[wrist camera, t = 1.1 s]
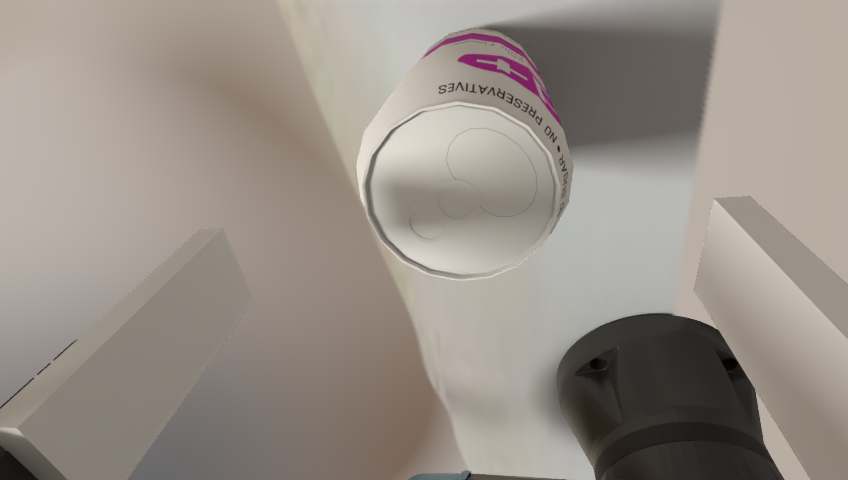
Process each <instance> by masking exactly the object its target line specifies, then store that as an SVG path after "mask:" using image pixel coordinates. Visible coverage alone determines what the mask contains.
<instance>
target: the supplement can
mask: <svg viewBox="0 0 848 480" xmlns="http://www.w3.org/2000/svg"><path fill="white" fill-rule="evenodd" d="M356 169H357V176H358V182H359V189H360V196H361V201H362V202H363V204H364V206H365V211H366V216H367V218H368V220H369V222H370V224H371V225H372V227H373V229H374V231H375V233H376V235H377V237H378V239H379V240H380V242H381V243H382V244H383V245H384V246H385V247H386V248H387V249H389V250H390V251H391V252H392V253H393V254H394V255H395V256H396V257H397V258H398V259H399V260H400V261H401V262H403V263H405V264H407V265H409V266H411V267H413V268H415V269H417V270H419V271H421V272H423V273H425V274H427V275H429V276H434V277H439V278H445V279H450V280H456V281H466V280H476V279H485V278H491V277H494V276H496V275H499V274H501V273H503V272H506V271H508V270H511V269H513V268H515V267H518V266H519V265H520V264H522V263H523V262H524V261H525V260H526V259H527V258H529V257H530V256H531V255H532V254H533V253H534V252H536V251H537V250H538V249H539V248H540V247H541V246H542V245H543V243H544V241H545V240H546V238H547V236H548V235H549V234H551V233H552V231H553V229H554V228H555V226H556V224H557V222H558V220H559V219H560V217H561V215H562V213H563V211H564V210H565V208H566V206H567V204H568V202H569V196H570V188H571V181H572V173H573V163H572V160H571V156H570V152H569V149H568V145H567V141H566V137H565V134H564V130H563V128H562V125H561V123H560V121H559V118H558V116H557V114H556V112H555V109H554V107H553V105H552V102H551V100H550V98H549V95H548V93H547V91H546V88H545V86H544V84H543V82H542V79H541V77H540V75H539V72H538V70H537V68H536V65H535V63H534V62H533V61H532V59H531V58H530V57H529V55H528V54H527V53H526V51H525V50H524V49H523V47H522V46H521V45H520V44H519V43H517V42H516V41H514V40H512V39H511V38H509V37H507V36H506V35H504V34H502V33H501V32H499V31H493V30H486V29H479V28H471V29H467V30H463V31H459V32H454V33H450V34H449V35H447V36H446V37H444V38H443V39H442V40H440V41H439V42H437V43H436V44H434V45H433V46H431V47H430V48H429V49H428V50H427V52H426V53H425V54H424V55H423V57H422V58H421V59H420V60H419V61H418V63H417V64H416V65H415V66H414V67H413V69H412V70H411V71H410V72H409V74H408V75H407V76H406V77H405V78H404V80H403V81H402V82H401V83H400V84H399V86H398V87H397V88H396V89H395V91H394V92H393V93H392V94H391V95H390V97H389V98H388V99H387V100H386V101H385V103H384V104H383V106H382V107H381V109H380V110H379V112H378V113H377V114H376V116H375V117H374V119H373V120H372V122H371V123H370V124H369V126H368V127H367V129H366V130H365V132H364V135H363V139H362V143H361V148H360V152H359V156H358V161H357V165H356Z"/></svg>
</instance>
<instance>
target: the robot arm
mask: <svg viewBox="0 0 848 480" xmlns="http://www.w3.org/2000/svg"><path fill="white" fill-rule="evenodd" d="M694 291H695V292H696V294H697V295H698V297H699V299H700V300H701V302H702V304H703V305H704V307H705V309H706V310H707V312H708V314H709V315H710V317H711V318H712V320H713V321H714V323H715V325H716V326H717V328H718V330H717V329H715V328H713V327H712V326H710V325H707V324H705V323H702V322H700V321H697V320H694V319H690V318H686V317H680V316H673V315H644V316H636V317H630V318H625V319H621V320H618V321H615V322H611V323H609V324H606V325H604V326H601V327H599V328H597V329H595V330H593V331H591V332H590V333H588V334H586V335H585V336H584V337H582V338H581V339H579V340H578V341H577V342H576V343H575V344H574V345H573V346H572V347H571V348H570V349H569V350H568V351H567V353H566V354H565V355H564V357H563V359H562V360H561V362H560V365H559V368H558V371H557V388H558V395H559V401H560V406H561V409H562V412H563V414H564V416H565V418H566V420H567V422H568V424H569V426H570V427H571V429H572V431H573V433H574V434H575V436H576V438H577V440H578V442H579V443H580V445H581V447H582V449H583V451H584V452H585V454H586V456H587V458H588V460H589V461H590V463H591V465H592V467H593V469H594V473H595V478H596V480H784V478H783V477H782V475H781V473H780V472H779V470H778V468H777V467H776V465H775V463H774V461H773V459H772V458H771V456H770V454H769V453H768V450H767V449H766V447H765V445H764V442H763V435H762V429H761V423H760V417H759V411H758V405H757V398H756V392H755V390H756V391H757V393H758V395H759V396H760V398H761V399H762V401H763V403H764V404H765V406H766V407H767V409H768V411H769V412H770V414H771V416H772V417H773V419H774V421H775V422H776V424H777V425H778V427H779V429H780V430H781V432H782V434H783V435H784V437H785V438H786V440H787V442H788V443H789V445H790V447H791V448H792V450H793V451H794V453H795V455H796V456H797V458H798V460H799V461H800V463H801V464H802V466H803V468H804V469H805V471H806V472H807V474H808V476H809V477H810V479H811V480H848V284H847V283H846V282H845V281H844V280H843V279H841V278H840V277H839V276H838V275H837V274H836V273H835V272H834V271H832V269H830V268H829V267H828V266H827V265H826V264H825V263H824V262H823V261H822V260H820V259H819V258H818V257H817V256H816V255H815V254H814V253H813V252H811V251H810V250H809V249H808V248H807V247H806V246H805V245H804V244H803V243H802V242H800V241H799V240H798V239H797V238H796V237H795V236H794V235H793V234H792V233H790V232H789V231H788V230H787V229H786V228H785V227H784V226H783V225H782V224H780V223H779V222H778V221H777V220H776V219H775V218H774V217H773V216H772V215H771V214H769V213H768V212H767V211H766V210H765V209H764V208H763V207H762V206H761V205H759V204H758V203H757V202H756V201H755V200H754V199H753V198H752V197H750V196H745V197H728V198H714V201H713V205H712V210H711V214H710V219H709V223H708V228H707V233H706V237H705V241H704V245H703V250H702V254H701V259H700V263H699V268H698V272H697V276H696V281H695V285H694ZM254 301H255V300H254V297H253V295H252V293H251V290H250V288H249V286H248V284H247V281H246V279H245V277H244V275H243V272H242V270H241V268H240V265H239V263H238V261H237V259H236V257H235V254H234V252H233V249H232V247H231V245H230V243H229V240H228V238H227V236H226V234H225V232H224V229H223V228H214V229H200V230H199V231H198V232H197V233H196V234H194V235H193V236H192V237H191V238H190V239H189V240H188V241H187V242H186V243H184V244H183V245H182V246H181V247H180V248H179V249H178V250H177V251H176V252H174V253H173V254H172V255H171V256H170V257H169V258H168V259H167V260H166V261H165V262H163V263H162V264H161V265H160V266H159V267H158V268H157V269H156V270H155V271H153V272H152V273H151V274H150V275H149V276H148V277H147V278H146V279H144V281H142V282H141V283H140V284H139V285H138V286H137V287H136V288H135V289H133V290H132V291H131V292H130V293H129V294H128V295H127V296H126V297H124V298H123V299H122V300H121V301H120V302H119V303H118V304H117V305H116V306H114V307H113V308H112V309H111V310H110V311H109V312H108V313H107V314H106V315H104V316H103V317H102V318H101V319H100V320H99V321H98V322H97V323H95V324H94V325H93V326H92V327H91V328H90V329H89V330H88V331H87V332H86V333H84V334H83V335H82V336H81V337H80V338H79V339H77V340H76V341H74V342H73V343H71V344H70V345H69V346H68V347H67V348H66V349H65V350H64V351H63V352H61V353H60V354H59V355H58V356H57V357H56V358H55V359H54V361H53V362H52V363H49V364H48V365H47V366H46V367H45V368H44V369H42V370H41V371H40V372H39V373H38V374H37V377H35V378H32V379H31V380H30V381H29V382H28V383H27V384H26V385H25V386H24V387H22V388H21V389H20V390H19V391H18V392H17V393H16V394H15V395H14V396H12V397H11V398H10V399H9V400H8V401H7V402H6V403H4V404H3V405H2V406H1V407H0V480H127V479H128V477H129V476H130V474H131V473H132V472H133V470H134V469H135V467H136V466H137V465H138V463H139V462H140V460H141V459H142V457H143V456H144V455H145V453H146V452H147V451H148V449H149V448H150V446H151V445H152V444H153V442H154V441H155V439H156V438H157V437H158V435H159V434H160V432H161V431H162V429H163V428H164V427H165V425H166V424H167V423H168V421H169V420H170V418H171V417H172V415H173V414H174V413H175V411H176V410H177V409H178V407H179V406H180V404H181V403H182V401H183V400H184V399H185V397H186V396H187V395H188V393H189V391H190V390H191V389H192V388H193V386H194V385H195V383H196V382H197V380H198V379H199V378H200V376H201V375H202V374H203V372H204V371H205V369H206V368H207V366H208V365H209V364H210V362H211V361H212V360H213V358H214V357H215V355H216V354H217V353H218V351H219V350H220V348H221V347H222V345H223V344H224V343H225V341H226V340H227V338H228V337H229V336H230V334H231V333H232V331H233V330H234V329H235V327H236V326H237V324H238V323H239V322H240V320H241V319H242V317H243V316H244V314H245V313H246V312H247V310H248V309H249V308H250V306H251V305H252V303H253V302H254ZM408 480H565V479H549V478H533V477H517V476H501V475H486V474H471V471H467V470H466V471H463V472H462V473H422V474H417V475H415V476H412V477H411V478H409V479H408Z"/></svg>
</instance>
